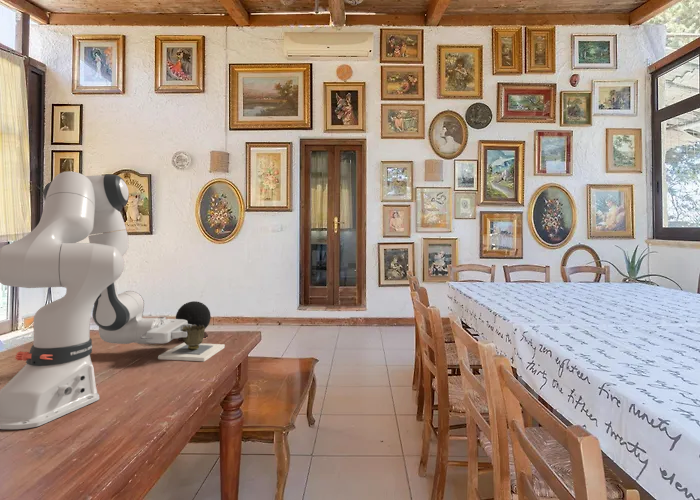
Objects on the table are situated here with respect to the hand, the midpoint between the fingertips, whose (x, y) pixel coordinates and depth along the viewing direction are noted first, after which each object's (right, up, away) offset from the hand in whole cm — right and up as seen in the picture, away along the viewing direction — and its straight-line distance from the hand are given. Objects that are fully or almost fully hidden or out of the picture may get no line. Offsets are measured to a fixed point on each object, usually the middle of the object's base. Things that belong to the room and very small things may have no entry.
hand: (192, 330), depth 131 cm
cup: (+1, -7, 0) cm, 7 cm away
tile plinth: (0, -8, 0) cm, 8 cm away
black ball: (-8, -8, +20) cm, 23 cm away
